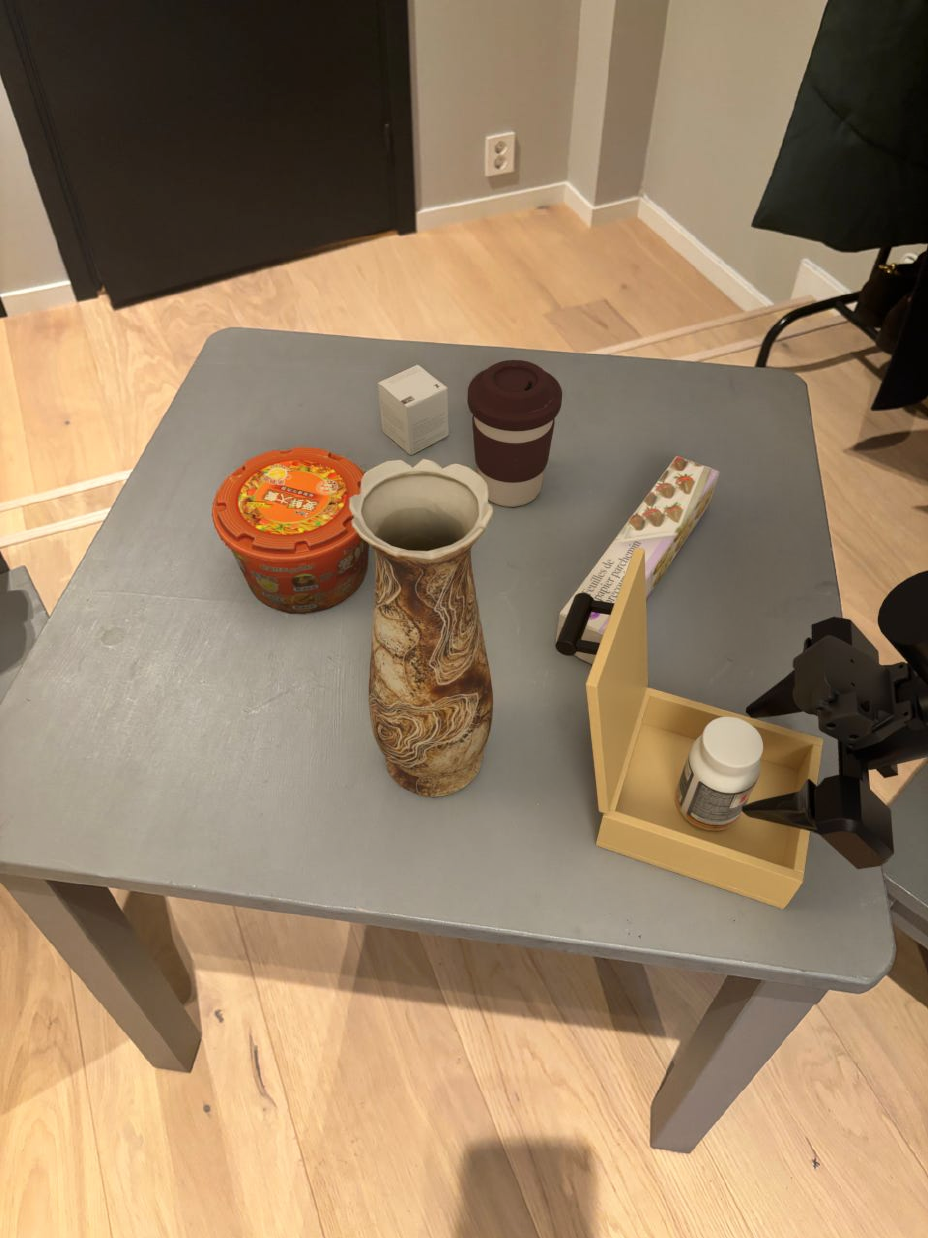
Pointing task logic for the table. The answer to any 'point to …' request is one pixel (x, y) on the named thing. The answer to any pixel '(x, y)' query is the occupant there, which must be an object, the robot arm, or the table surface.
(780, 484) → the table surface
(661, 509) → the box
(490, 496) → the coffee cup
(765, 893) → the shallow kraft tray
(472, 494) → the vase
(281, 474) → the food container
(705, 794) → the pill bottle
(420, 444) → the product carton
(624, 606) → the upright wooden panel
